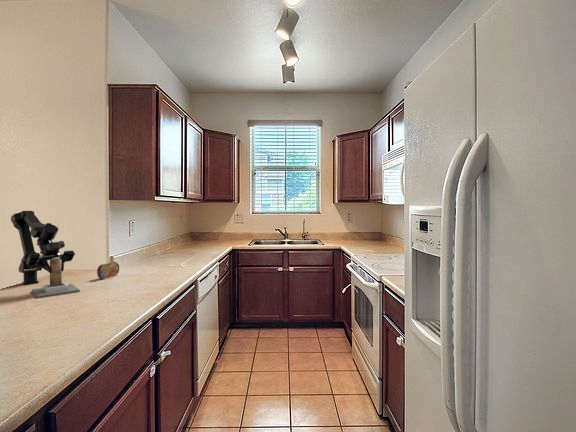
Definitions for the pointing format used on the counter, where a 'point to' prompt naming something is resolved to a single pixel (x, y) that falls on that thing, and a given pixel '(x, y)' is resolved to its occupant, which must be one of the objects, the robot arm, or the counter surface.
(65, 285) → the grey square frame plate
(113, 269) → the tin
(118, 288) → the counter surface
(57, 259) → the mill
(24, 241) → the robot arm
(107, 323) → the counter surface
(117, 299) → the counter surface
